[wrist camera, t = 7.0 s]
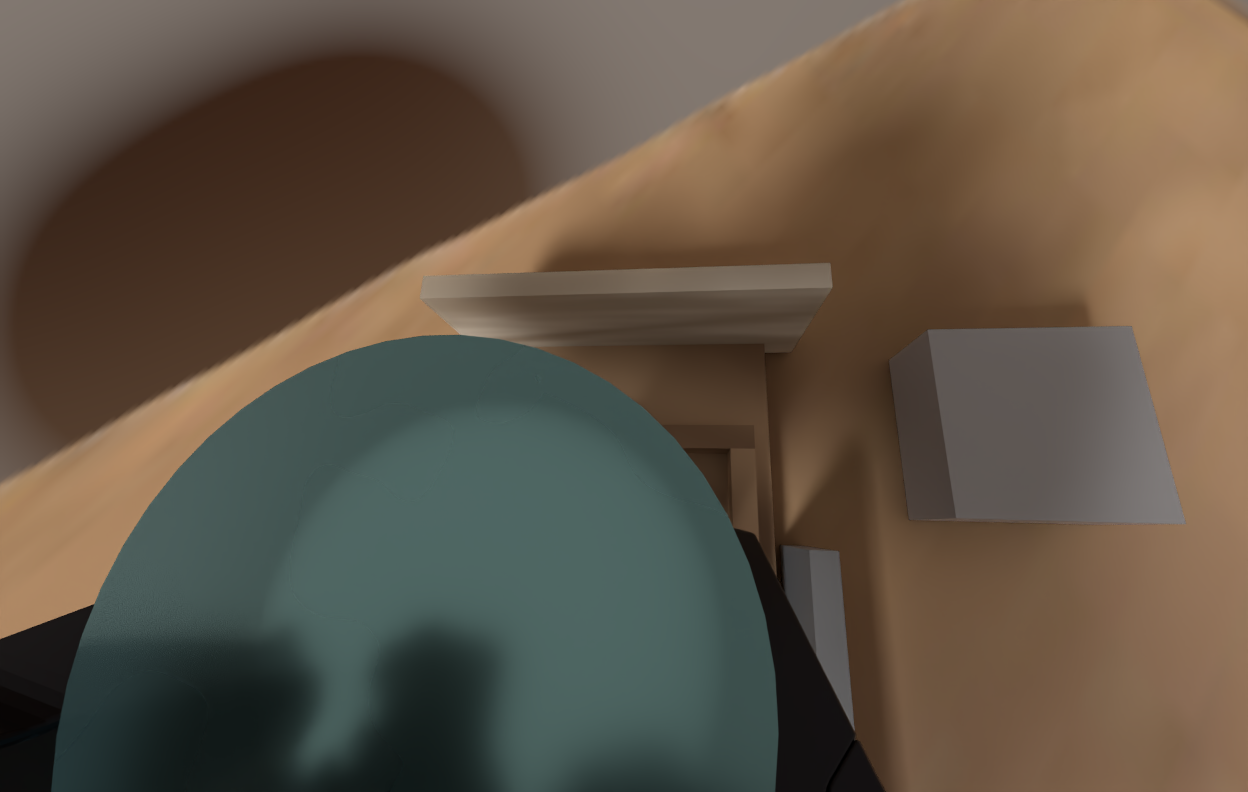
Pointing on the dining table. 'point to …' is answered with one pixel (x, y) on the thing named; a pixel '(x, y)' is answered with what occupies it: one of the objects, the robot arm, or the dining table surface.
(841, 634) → the grey open box
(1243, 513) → the dining table surface
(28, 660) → the robot arm
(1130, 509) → the block
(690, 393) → the beige piece
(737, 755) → the teal cylinder
